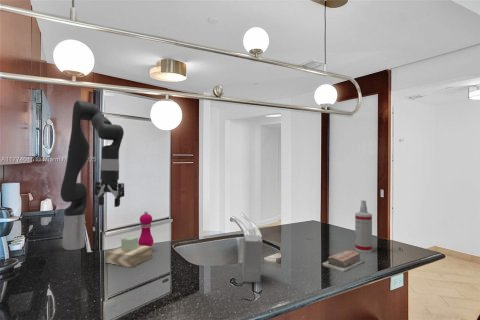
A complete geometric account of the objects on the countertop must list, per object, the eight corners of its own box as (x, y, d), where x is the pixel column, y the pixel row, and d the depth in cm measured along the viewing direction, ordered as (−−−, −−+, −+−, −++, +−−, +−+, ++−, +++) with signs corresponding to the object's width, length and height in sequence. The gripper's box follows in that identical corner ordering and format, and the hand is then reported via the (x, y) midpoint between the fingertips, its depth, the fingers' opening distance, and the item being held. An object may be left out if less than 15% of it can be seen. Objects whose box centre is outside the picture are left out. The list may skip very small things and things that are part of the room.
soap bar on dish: (343, 247, 140) (364, 252, 133) (343, 257, 140) (364, 263, 133) (322, 255, 128) (343, 261, 121) (321, 266, 128) (343, 273, 121)
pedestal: (105, 263, 131) (105, 252, 131) (127, 254, 144) (128, 243, 144) (132, 267, 126) (132, 255, 126) (152, 257, 139) (152, 246, 139)
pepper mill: (144, 254, 144) (144, 212, 144) (135, 251, 148) (135, 211, 148) (156, 250, 149) (156, 210, 149) (147, 248, 154) (147, 209, 154)
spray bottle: (352, 249, 152) (352, 200, 152) (360, 246, 156) (360, 199, 156) (366, 253, 146) (366, 201, 146) (374, 250, 150) (374, 200, 150)
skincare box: (241, 274, 118) (241, 234, 118) (259, 274, 119) (259, 234, 119) (243, 283, 110) (243, 240, 110) (262, 282, 110) (262, 239, 110)
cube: (121, 250, 133) (121, 239, 133) (128, 247, 138) (129, 236, 138) (130, 251, 132) (130, 240, 132) (137, 248, 136) (137, 237, 136)
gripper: (90, 168, 131) (89, 205, 131) (116, 170, 126) (116, 208, 126) (103, 168, 138) (102, 203, 138) (128, 169, 133) (128, 206, 134)
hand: (109, 205), depth 132 cm, fingers open, 8 cm apart
